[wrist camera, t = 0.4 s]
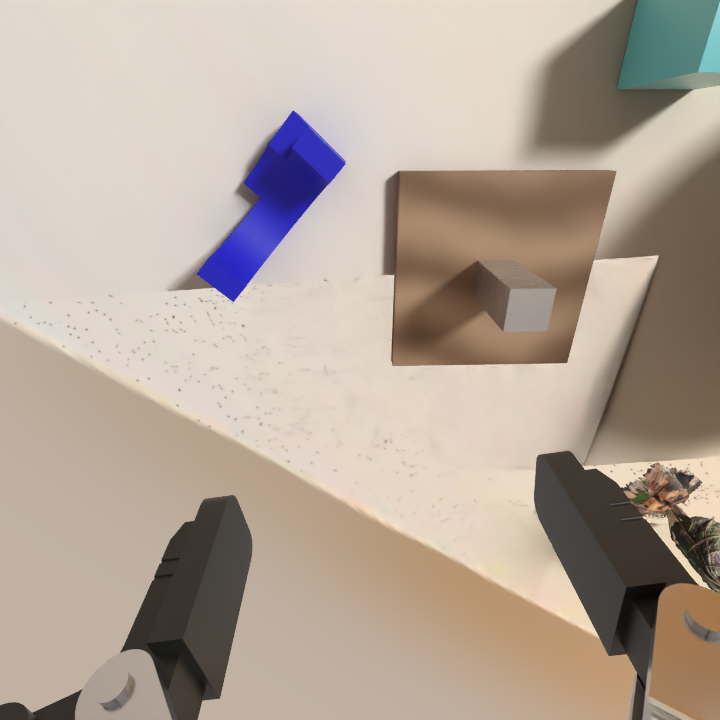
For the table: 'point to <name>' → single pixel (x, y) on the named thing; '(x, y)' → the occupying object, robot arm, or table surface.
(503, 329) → the steel post
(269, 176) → the cable clip
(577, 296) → the walnut board
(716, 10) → the aqua box
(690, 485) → the plant with pod
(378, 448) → the table surface
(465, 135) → the table surface
